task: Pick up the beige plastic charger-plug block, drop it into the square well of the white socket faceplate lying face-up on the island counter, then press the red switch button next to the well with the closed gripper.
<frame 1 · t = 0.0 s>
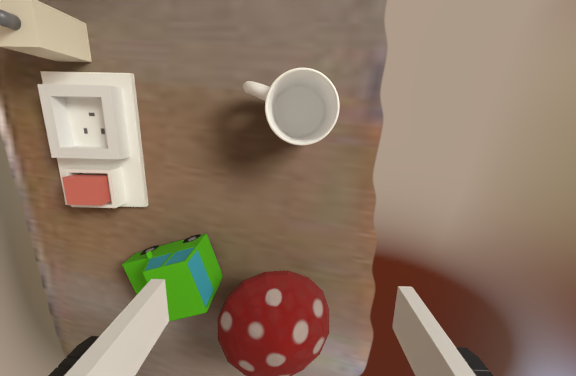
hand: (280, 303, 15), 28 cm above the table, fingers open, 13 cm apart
decorative mushroom: (278, 284, 47), on the table
toy car: (181, 260, 46), on the table
plug: (71, 42, 38), on the table
switch: (87, 189, 39), point 4 cm above the table, slide at 0.0 cm
mug: (288, 106, 39), on the table
socket plate: (99, 142, 41), on the table
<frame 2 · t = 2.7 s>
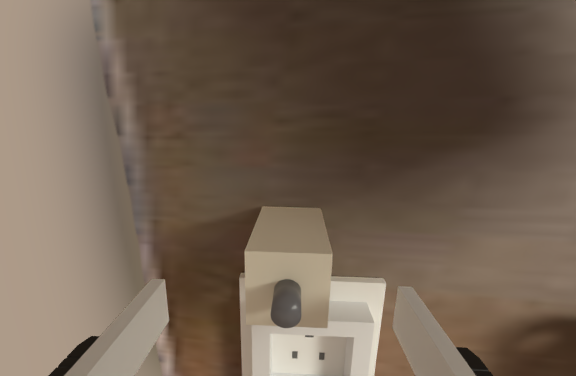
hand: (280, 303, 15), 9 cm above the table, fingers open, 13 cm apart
plug: (290, 234, 23), on the table
socket plate: (307, 362, 27), on the table
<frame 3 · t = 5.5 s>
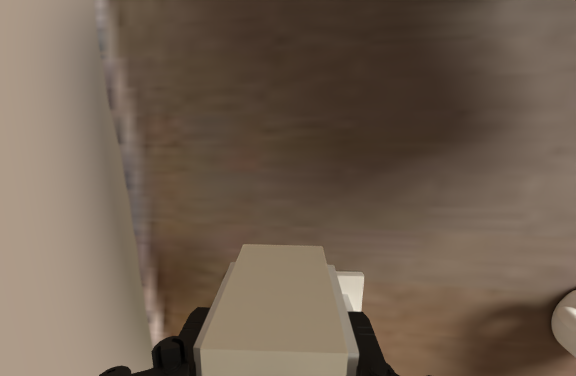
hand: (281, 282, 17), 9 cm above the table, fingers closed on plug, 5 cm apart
plug: (282, 280, 17), point 9 cm above the table, touching gripper
mug: (570, 308, 28), on the table
socket plate: (294, 353, 29), on the table
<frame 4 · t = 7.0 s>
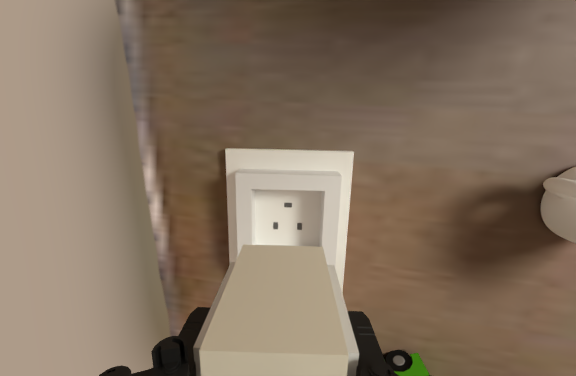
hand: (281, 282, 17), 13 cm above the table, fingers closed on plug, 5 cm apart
plug: (282, 281, 17), point 13 cm above the table, touching gripper
mug: (560, 193, 28), on the table
socket plate: (287, 238, 30), on the table
when the fingers open (5 cm above the table, at t = 8.7 s): plug drops 4 cm, resting on socket plate.
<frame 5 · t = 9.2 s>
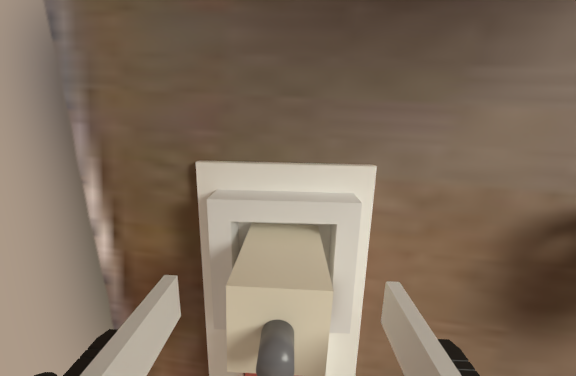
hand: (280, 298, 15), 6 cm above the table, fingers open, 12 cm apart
plug: (283, 254, 21), point 1 cm above the table, touching socket plate
socket plate: (283, 281, 22), on the table
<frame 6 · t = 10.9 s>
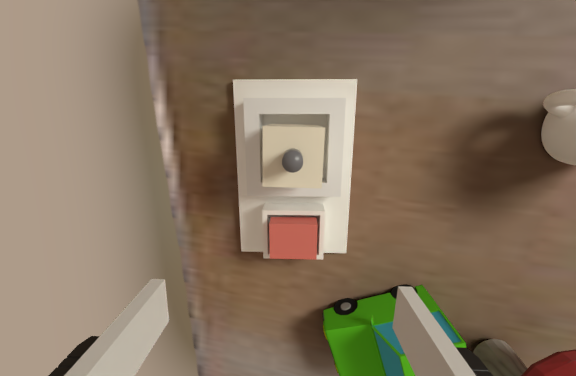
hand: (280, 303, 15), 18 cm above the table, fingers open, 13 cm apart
decorative mushroom: (495, 343, 37), on the table
toy car: (373, 315, 36), on the table
plug: (293, 147, 29), point 1 cm above the table, touching socket plate
switch: (293, 237, 29), point 4 cm above the table, slide at 0.0 cm
mug: (560, 119, 29), on the table
socket plate: (294, 171, 31), on the table
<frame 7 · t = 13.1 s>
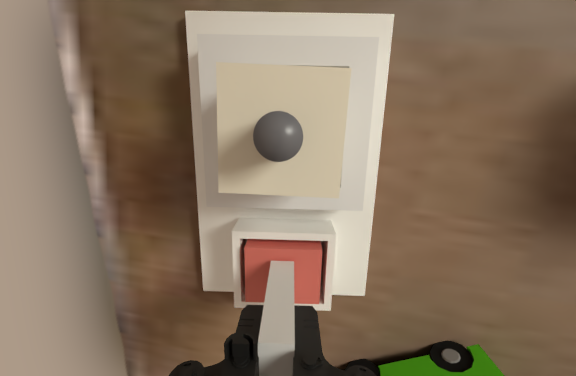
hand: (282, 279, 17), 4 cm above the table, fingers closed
plug: (286, 128, 18), point 1 cm above the table, touching socket plate
switch: (283, 268, 18), point 3 cm above the table, slide at 1.1 cm, touching gripper
socket plate: (286, 169, 20), on the table
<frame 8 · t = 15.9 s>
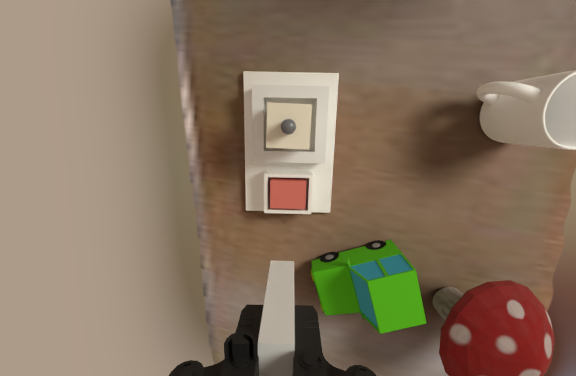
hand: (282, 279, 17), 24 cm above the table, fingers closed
decorative mushroom: (451, 292, 45), on the table
toy car: (352, 267, 44), on the table
plug: (289, 125, 38), point 1 cm above the table, touching socket plate
switch: (288, 193, 38), point 3 cm above the table, slide at 1.1 cm
mug: (494, 107, 38), on the table
socket plate: (289, 145, 39), on the table
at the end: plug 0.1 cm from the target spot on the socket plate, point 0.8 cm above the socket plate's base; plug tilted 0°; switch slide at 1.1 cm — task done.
